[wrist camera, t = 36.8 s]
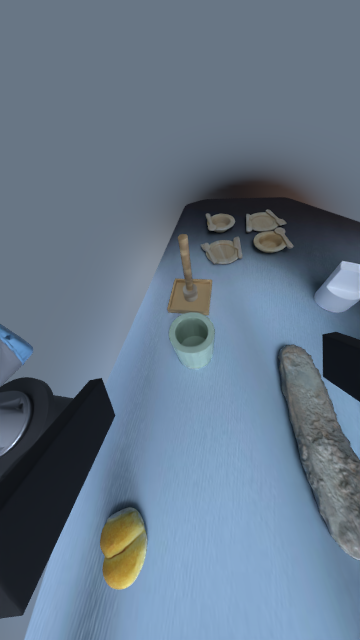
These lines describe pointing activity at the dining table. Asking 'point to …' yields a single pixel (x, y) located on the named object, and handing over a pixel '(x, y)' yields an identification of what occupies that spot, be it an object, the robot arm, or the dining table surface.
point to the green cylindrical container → (193, 339)
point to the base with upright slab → (340, 288)
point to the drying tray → (198, 306)
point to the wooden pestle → (187, 270)
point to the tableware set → (258, 222)
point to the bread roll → (123, 547)
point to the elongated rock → (323, 448)
